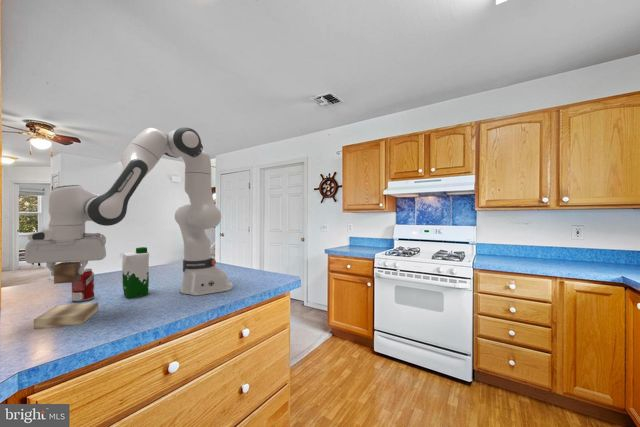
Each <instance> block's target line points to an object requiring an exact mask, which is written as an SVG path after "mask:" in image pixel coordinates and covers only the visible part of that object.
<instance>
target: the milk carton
mask: <svg viewBox="0 0 640 427" xmlns="http://www.w3.org/2000/svg"><path fill="white" fill-rule="evenodd" d="M149 260H150V253H149V252H148V247H146V246H143V247H136V248H135V251H130V252H127V253H126V252H124V253H122V265H121V268H122V271H121V272H122V277H121V278H122V281H121V282H122V291H123V295H124V296H125V298H127V299H128V300H130V299H133V298H134V299H135V298H140V297H144V296H148V295H149V284H150V279H149V278H150V276H149V274H150V272H149V269H150V268H149V267H150V264H149Z"/></svg>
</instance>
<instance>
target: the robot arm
mask: <svg viewBox="0 0 640 427" xmlns="http://www.w3.org/2000/svg"><path fill="white" fill-rule="evenodd" d="M127 145H128V146H126V148H125V150H124V151H123V154H122V156H121V158H120V162H121V164H122V170H121V172H120V173H119V175H118V177H117V179H116V180H115V181H114V183H112V185H111V187H110V188H109V189H108V191H106V192H105V193H103V194H98V193H97V192H96V193H95V192H93V191H90V190H89V189H87V188H85V187H83V186H82V185H79V184H71V185H70V184H69V185H59V186H57V187H54V188H53V189H51V191H50V192H49V199H48V213H49V216H50V220H49V223H48V229H42V230H41V231H36V232H33V233H29V234H27V239H28V242H27V243H26V246H25V248H24V249H25V250H24V261H25V263H27V264H46V267H47V269H48V270H49V271H50V276H51V277H54V265H56V263H62V262H79V261H80V264H81V267H80V269H76V275H80V274H83V273H84V269H86V267H87V265H88V263H89V262H93V261H95V262H96V261H101V260H104V259H105V258H106V256H107V250H106V249H107V248H106V241H107V239H106V236H105V235H104V234H102V233H99V232H96V233H89V232H86V222H93V223H95V224H97V225H100V226H104V227H105V226H106V227H107V226H115V225H117V224H119V223H120V222H122V221H123V219H124V218H125V217H126V215H127V210H128V204H129V201H130V200H131V197H132V196H133V194H134V193H135V191H136V190H137V188H138V187H139V185H140V184H141V182H142V181H143V179H144V178H146V176H147V175H148V174H149V173H150V172H151V171H152V170H153V169H154V168H155V166H156V165H157V164H158V162H159V161H160V160H161V158H162V156H164V155H165V156H168V157H170V158H174V159H175V158H176V159H177V158H182V160H183V161H184V165H185V166H184V167H185V168H184V192H185V193H186V195H187V196H188V199H189V203H190V204H185V205H182V206H180V207H178V208H177V209H176V210H175V212H174V220H175V222H176V223H177V224H178V227H179V228H180V232H181V237H182V239H183V240H182V241H183V260H182V273H183V274H182V275H183V276H182V281H181V286H180V288H179V292H180V293H181V294H186V295H191V296H201V295H202V296H203V295H208V294H215V293H222V292H229V291H230V290H232V289H233V288H234V285H233V282H232V281H231V280H230V281H229V279H228V275H227V273H226V272H225V271H224V270H223V269H221V268H219V267H218V266H216V265H217V260H216V259H215V258H213V257H211V251H212V250H211V249H212V248H211V240H210V239H209V237H208V236H207V233H206V230H209V229H210V230H211V229H213V228H216V227H218V225H220V223H221V220H222V213H221V211H220V209H219V208H218V207H217V206H216V204H215V201H214V197H213V193H212V192H213V191H212V162H211V156H210V153H208V152H207V151H205V150H204V149H203V148H204V147H203V144H202V139H201V137H200V135H199V134H198V132H197V131H196V130H195V129H193V128H190V127H179V128H177V129H173V130H171V131H170V132H168V133H165V132H162V130H160V129H157V128H155V127H148V128H147V127H146V128H145V129H144V130H142V131H141V132H140V133H138V135H136V136H135V137H134V138H133V139H132V141H131V142H130V143H129V144H127Z"/></svg>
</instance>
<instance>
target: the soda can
mask: <svg viewBox="0 0 640 427" xmlns="http://www.w3.org/2000/svg"><path fill="white" fill-rule="evenodd" d="M93 298H95V273H94V271H93V269H92V268H84V273H83V274H81V279H79V280H77V281H75V282H73V283H71V301H73V302H76V303H80V302H86V301H87V302H88V301H90V300H92V299H93Z"/></svg>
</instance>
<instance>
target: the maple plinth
mask: <svg viewBox="0 0 640 427" xmlns="http://www.w3.org/2000/svg"><path fill="white" fill-rule="evenodd" d="M98 311H99V302H98V301H94V302H84V303H75V304H73V303H72V304H63V305H61V304H60V305H55V306H54V307H52V308H50V309H47V311H45V312H43V313H42V314H40V315H39V316H37V317H35V318H34V319H33V330H40V329H49V328H50V329H51V328H56V327H65V326H73V325H83V324H85V322H86V321H87V320H89V319H90V318H92V316H93V315H95V314H96V313H97V312H98Z"/></svg>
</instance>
